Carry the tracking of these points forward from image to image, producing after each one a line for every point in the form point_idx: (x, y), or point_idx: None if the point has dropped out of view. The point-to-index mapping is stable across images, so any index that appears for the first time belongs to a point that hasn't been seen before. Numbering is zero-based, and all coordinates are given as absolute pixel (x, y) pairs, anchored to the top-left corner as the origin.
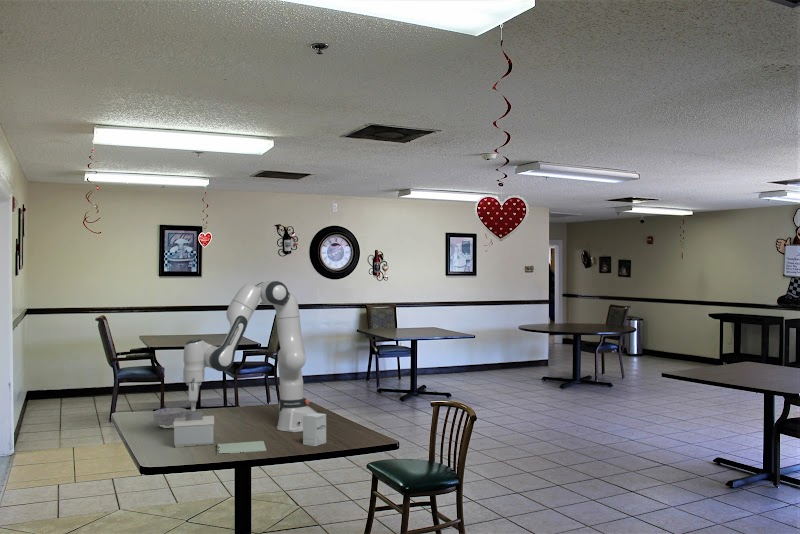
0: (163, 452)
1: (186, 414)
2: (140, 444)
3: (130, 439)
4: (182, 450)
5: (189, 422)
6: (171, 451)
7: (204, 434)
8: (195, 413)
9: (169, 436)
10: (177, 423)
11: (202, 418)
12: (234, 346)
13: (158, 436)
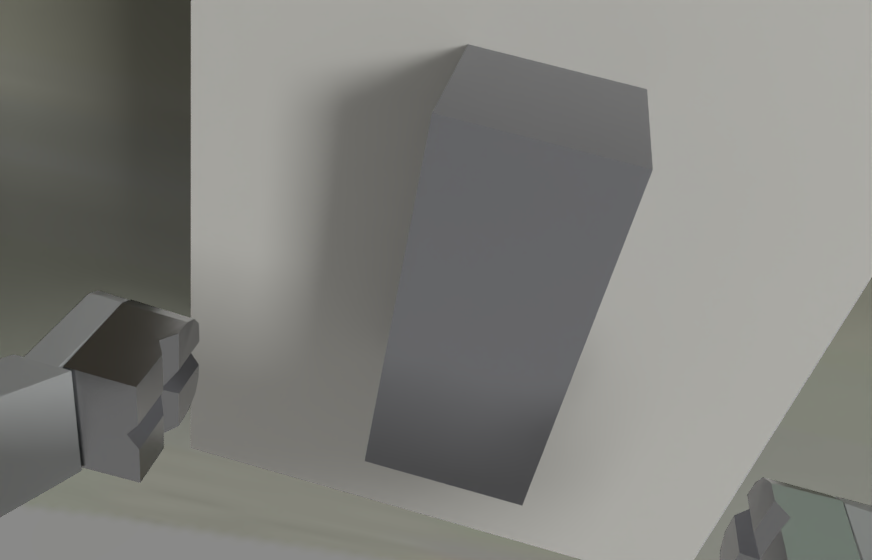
0: (796, 452)
1: (527, 482)
2: (317, 501)
3: (94, 505)
4: (866, 288)
5: (761, 392)
6: (815, 388)
7: None
8: (585, 335)
9: (44, 233)
10: (697, 546)
11: (646, 105)
12: None
13: (22, 317)
